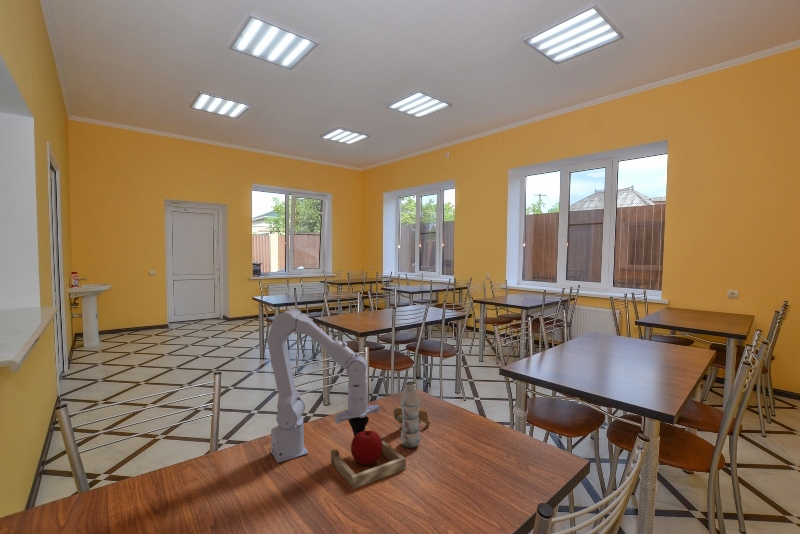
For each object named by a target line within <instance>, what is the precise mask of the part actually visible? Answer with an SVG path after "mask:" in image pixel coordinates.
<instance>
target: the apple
mask: <svg viewBox="0 0 800 534" xmlns="http://www.w3.org/2000/svg"><path fill="white" fill-rule="evenodd" d="M353 436H354V435H353ZM382 449H383V445H382V440H381V438H380V434H379V433H377V432H376V431H374V430H366V427H364V431H362V432H359V433H357V434H356V435H355V436H354V437H353V438H352V440H351V444H350V452H351V456H352V457H353V459H354V461H355V462H356V463H358V464H361V465H363V466H367V465H374V464H375V463H376V462H377V461H379V459H380V458H381V456H382V454H383V453H382Z"/></svg>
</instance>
